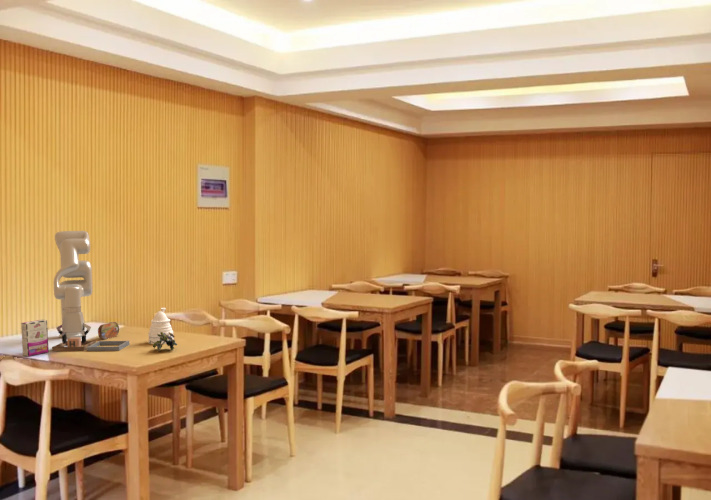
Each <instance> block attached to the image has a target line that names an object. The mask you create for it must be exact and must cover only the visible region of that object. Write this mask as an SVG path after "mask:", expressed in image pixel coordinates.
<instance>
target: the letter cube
mask: <svg viewBox="0 0 711 500" xmlns="http://www.w3.org/2000/svg"><path fill="white" fill-rule="evenodd" d="M81 341H82V336H80V337H75V338H67V345H66V347H79V346H82V345H81Z"/></svg>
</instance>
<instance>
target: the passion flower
mask: <svg viewBox="0 0 711 500" xmlns="http://www.w3.org/2000/svg"><path fill="white" fill-rule="evenodd" d="M160 333H161V335H160V334H157V335H158V336H159V337H160V341H157V342H155V343H154V342H153V343H154V344H152V347H153V349H155V348H157V352H159V351H160V350H161V349H162V347H163V345H164V344H161V341H162V340H163V341H164V342H166V344H165V345H167V346H168V347H169V348H170V350H171V351H172V350H174V349H175V347H174V346H177V345H178V343H176V340H175V337H176V336H175V335H174V333H173V334H172V333H170V332H169V334H170V336H169V335H166V334H165V333H163V332H160ZM171 336H172V337H171ZM172 338H173V339H172ZM151 342H152V341H151V340H150V343H151ZM164 342H163V343H164ZM150 343H149V342H148V344H149V345H151V344H150Z"/></svg>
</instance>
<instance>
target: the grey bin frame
mask: <svg viewBox="0 0 711 500" xmlns="http://www.w3.org/2000/svg"><path fill="white" fill-rule="evenodd" d="M99 345H100V346H99ZM97 346H98V347H97ZM128 346H130V340H98V341H96V343H94V344H92V345H90V346H88V347H87V349H86V352H115V351H117V352H118V351H121V350H123V349H124V348H126V347H128Z"/></svg>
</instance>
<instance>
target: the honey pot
mask: <svg viewBox="0 0 711 500" xmlns="http://www.w3.org/2000/svg"><path fill="white" fill-rule="evenodd" d="M166 309H167V308H166V307H160V310H159V311H157V312H156V314H155V315H154V317H153V318H152V320H150V322H151V325H150V328H149V330H148V344H149V343H150V340H151V341H152V342H151V343H150V344H149V345H153V344H154V343H155V342H157V341H160V337H159V336H158V335H157V334H160V335H161V333H160V332H163V333H165V334H166V335H169V336H170V334H169V332H170V333H172V334H173V335H174V330H173V328H172V325H171V322H170V321H171V319H170V318H168V317H167V314H166V313H165V312H166ZM171 337H172V336H171ZM172 339H174V338H172ZM153 342H154V343H153ZM163 342H164V341H163V340H162V341H161V344H163V345H167V344H166V342H164V343H163Z"/></svg>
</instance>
